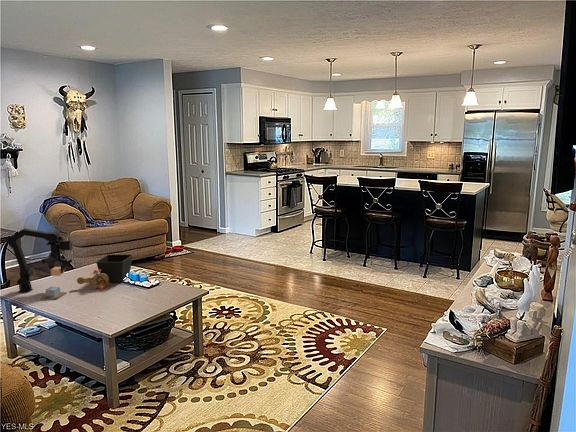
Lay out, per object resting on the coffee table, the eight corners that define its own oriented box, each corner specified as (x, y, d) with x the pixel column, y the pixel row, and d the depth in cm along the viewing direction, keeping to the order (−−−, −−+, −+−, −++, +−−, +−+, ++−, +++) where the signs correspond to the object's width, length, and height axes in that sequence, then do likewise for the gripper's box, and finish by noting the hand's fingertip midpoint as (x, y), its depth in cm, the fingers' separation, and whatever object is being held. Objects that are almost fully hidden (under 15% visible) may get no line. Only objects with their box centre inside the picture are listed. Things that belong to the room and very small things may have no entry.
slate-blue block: (46, 296, 279) (45, 289, 278) (52, 293, 285) (51, 286, 284) (54, 296, 279) (54, 290, 278) (60, 293, 284) (59, 286, 284)
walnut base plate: (40, 299, 277) (40, 297, 277) (51, 292, 288) (51, 291, 288) (56, 299, 276) (56, 298, 276) (66, 293, 287) (66, 292, 287)
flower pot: (97, 284, 305) (95, 261, 302) (109, 275, 323) (107, 254, 320) (123, 284, 304) (122, 262, 301) (134, 276, 323) (132, 254, 320)
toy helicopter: (107, 290, 294) (105, 270, 291) (75, 290, 292) (73, 271, 289) (110, 285, 302) (109, 267, 299) (80, 286, 300) (78, 267, 297)
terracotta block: (51, 275, 289) (50, 269, 288) (55, 273, 295) (54, 266, 294) (60, 275, 289) (59, 269, 288) (64, 273, 295) (63, 266, 294)
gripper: (34, 253, 282) (36, 276, 285) (61, 254, 280) (63, 277, 283) (45, 249, 293) (47, 271, 296) (71, 250, 291) (73, 272, 294)
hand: (57, 273), depth 292 cm, fingers closed on terracotta block, 6 cm apart
